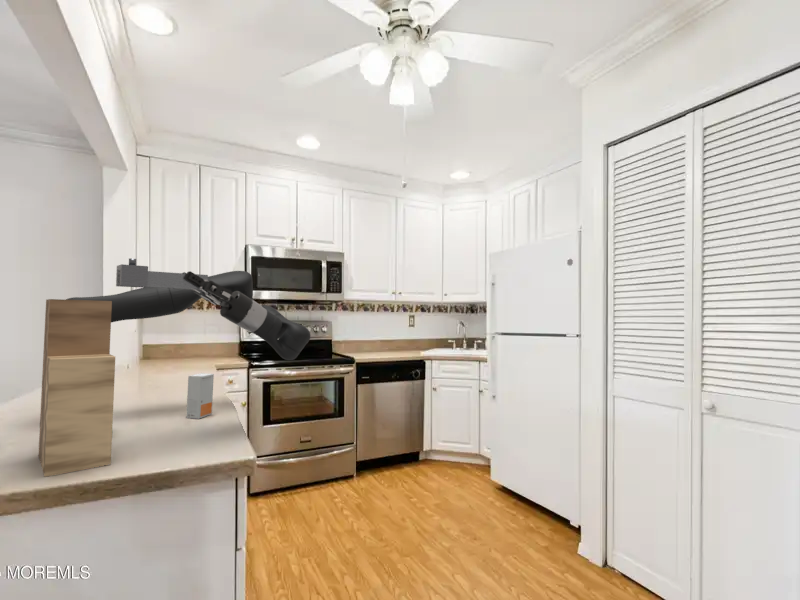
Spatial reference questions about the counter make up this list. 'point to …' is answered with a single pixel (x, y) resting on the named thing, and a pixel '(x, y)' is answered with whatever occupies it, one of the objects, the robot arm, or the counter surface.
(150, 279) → the dark grey bar piece
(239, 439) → the counter surface
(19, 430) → the counter surface
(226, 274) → the robot arm
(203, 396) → the skincare box
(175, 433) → the counter surface
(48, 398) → the upright wood plank
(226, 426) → the counter surface
